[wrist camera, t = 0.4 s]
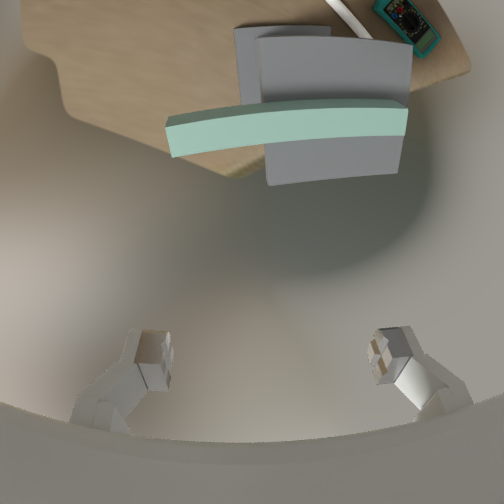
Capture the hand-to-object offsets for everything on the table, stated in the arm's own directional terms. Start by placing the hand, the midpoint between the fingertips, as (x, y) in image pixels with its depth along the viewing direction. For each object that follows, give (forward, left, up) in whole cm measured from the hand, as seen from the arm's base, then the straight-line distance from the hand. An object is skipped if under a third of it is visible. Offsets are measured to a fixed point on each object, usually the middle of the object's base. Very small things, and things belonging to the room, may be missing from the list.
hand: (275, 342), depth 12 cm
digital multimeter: (-32, +21, -50) cm, 62 cm away
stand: (-8, +9, -49) cm, 50 cm away
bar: (-4, +4, -23) cm, 24 cm away
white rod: (-23, +13, -50) cm, 56 cm away
